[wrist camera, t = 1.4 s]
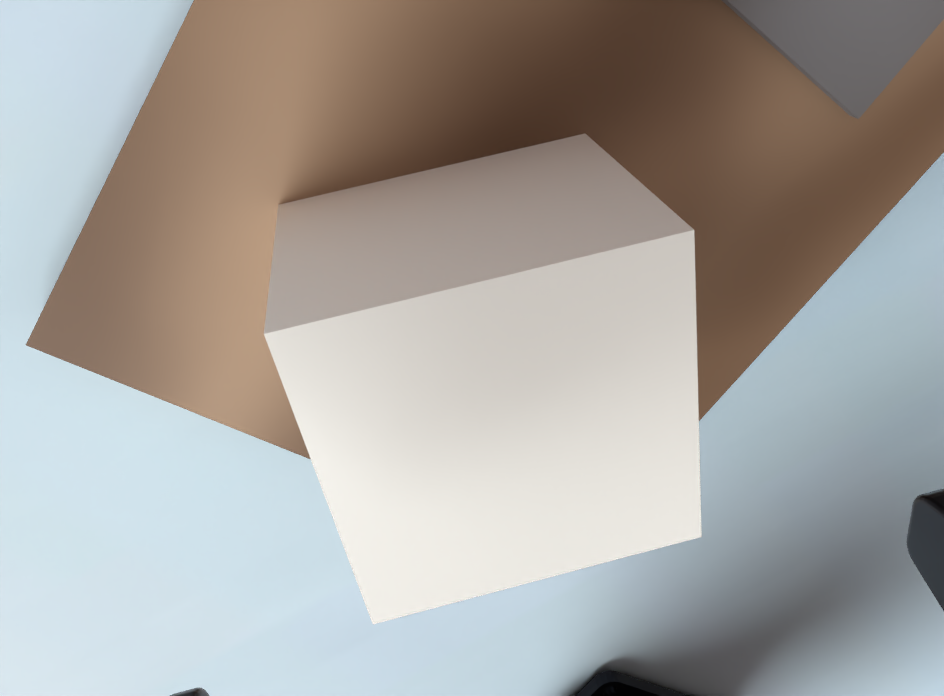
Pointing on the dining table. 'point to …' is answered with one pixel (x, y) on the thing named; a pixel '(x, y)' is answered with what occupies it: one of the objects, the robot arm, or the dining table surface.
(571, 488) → the off-white cube box
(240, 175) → the post stand
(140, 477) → the dining table surface
